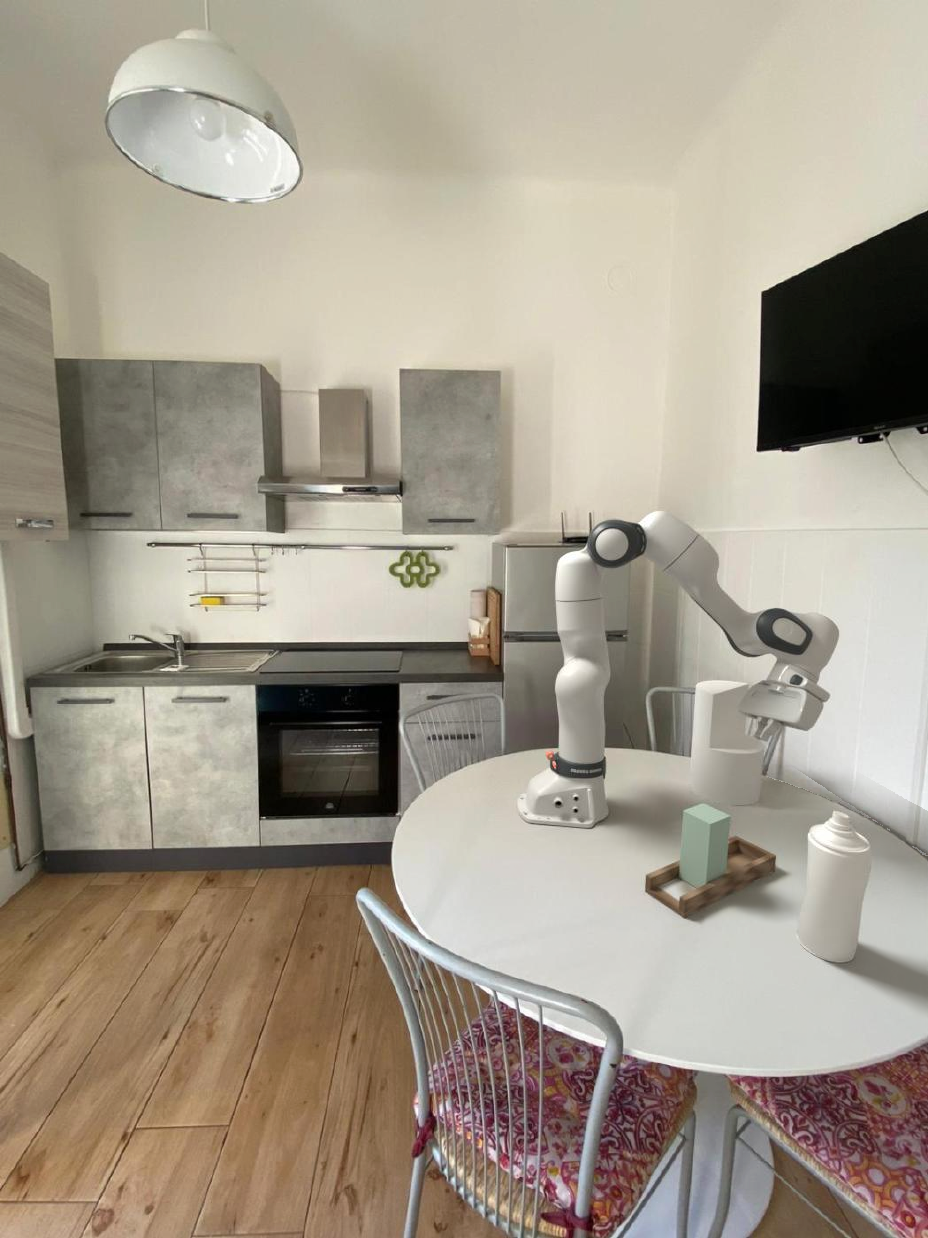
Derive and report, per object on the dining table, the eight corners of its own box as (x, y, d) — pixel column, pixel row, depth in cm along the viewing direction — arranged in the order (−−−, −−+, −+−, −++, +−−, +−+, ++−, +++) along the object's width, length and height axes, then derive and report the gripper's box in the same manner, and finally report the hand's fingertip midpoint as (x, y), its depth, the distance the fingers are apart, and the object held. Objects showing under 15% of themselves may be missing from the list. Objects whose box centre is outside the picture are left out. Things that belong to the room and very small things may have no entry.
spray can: (884, 970, 92) (903, 824, 88) (827, 981, 90) (844, 831, 86) (825, 922, 103) (839, 790, 100) (773, 931, 101) (786, 796, 97)
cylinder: (676, 787, 157) (682, 686, 153) (711, 771, 167) (718, 677, 163) (737, 812, 143) (746, 702, 139) (772, 793, 154) (781, 691, 149)
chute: (734, 850, 126) (735, 835, 126) (774, 871, 119) (776, 855, 118) (644, 891, 112) (645, 875, 112) (683, 918, 105) (685, 900, 104)
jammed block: (698, 868, 118) (703, 803, 115) (725, 883, 113) (730, 815, 110) (678, 877, 115) (683, 810, 112) (705, 893, 110) (710, 824, 107)
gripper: (748, 672, 136) (719, 723, 134) (812, 680, 116) (780, 740, 114) (769, 686, 136) (741, 737, 135) (837, 696, 116) (804, 756, 115)
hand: (759, 739), depth 125 cm, fingers closed
